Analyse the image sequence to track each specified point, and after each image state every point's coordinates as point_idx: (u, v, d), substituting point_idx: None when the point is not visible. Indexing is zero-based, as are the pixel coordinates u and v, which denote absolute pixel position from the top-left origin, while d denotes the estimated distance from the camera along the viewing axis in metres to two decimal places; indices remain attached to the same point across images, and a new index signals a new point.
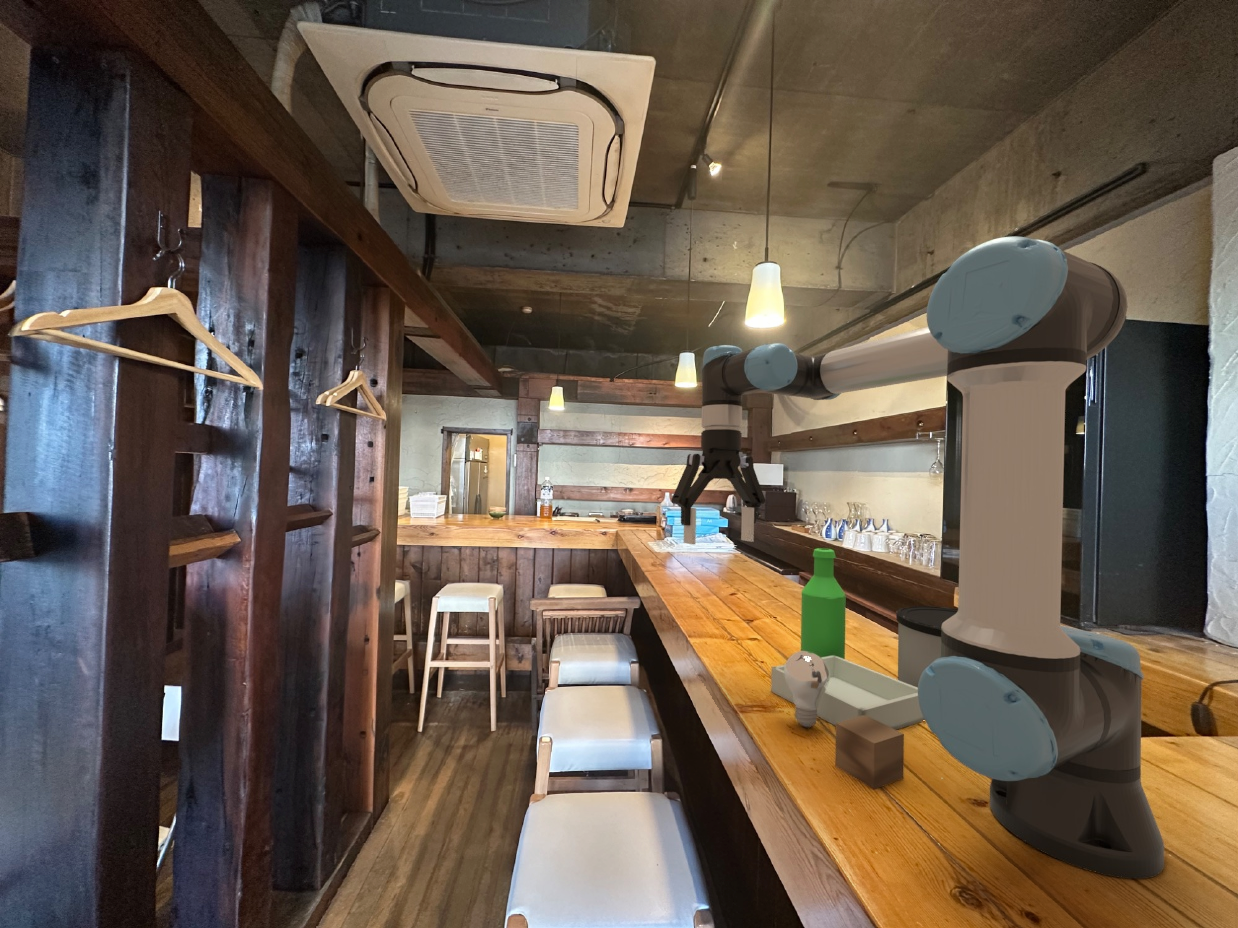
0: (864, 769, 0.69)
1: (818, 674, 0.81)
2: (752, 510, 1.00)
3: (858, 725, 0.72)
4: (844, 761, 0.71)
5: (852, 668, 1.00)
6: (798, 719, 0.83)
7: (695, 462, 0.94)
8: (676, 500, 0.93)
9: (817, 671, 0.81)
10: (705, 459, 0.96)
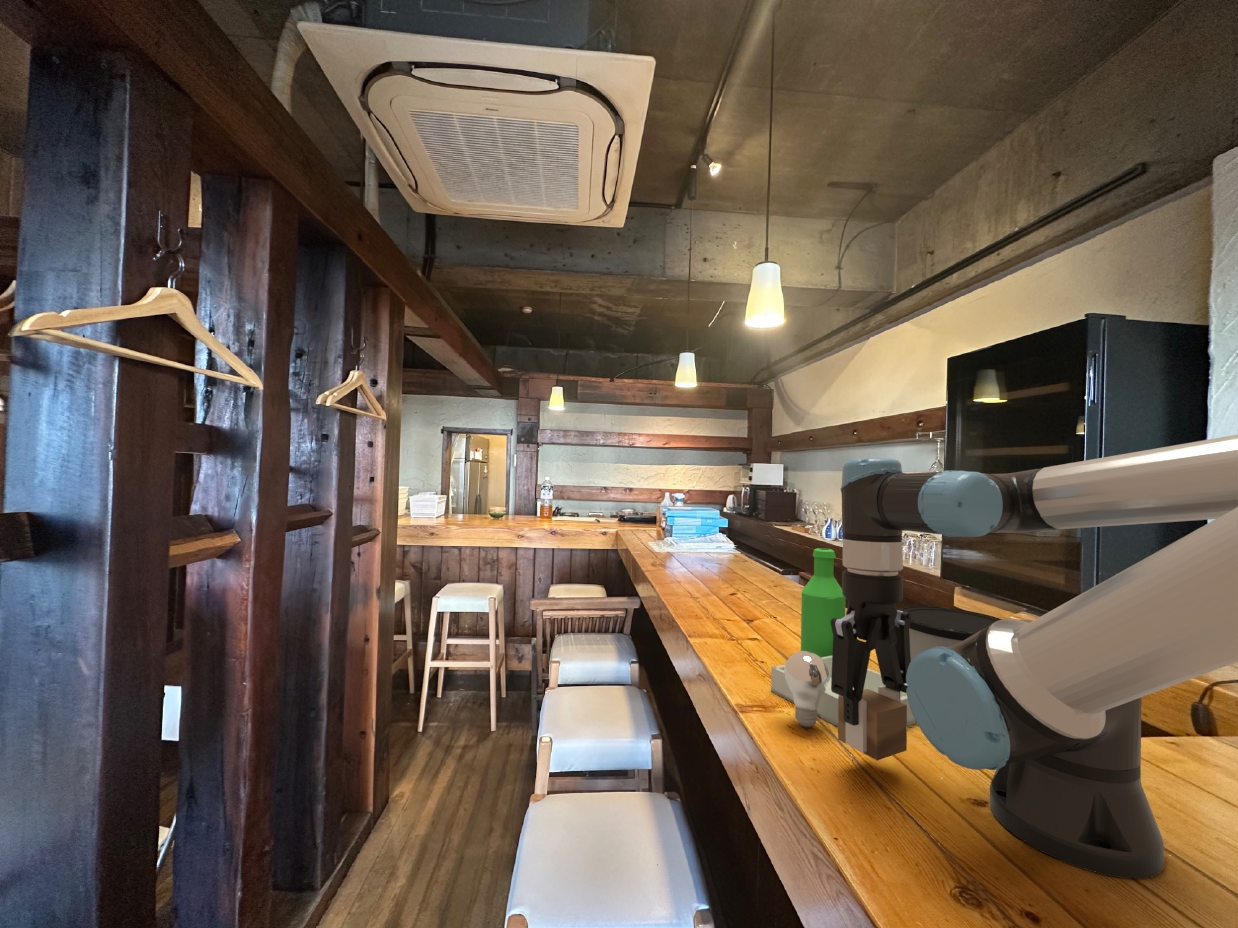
0: (867, 740, 0.68)
1: (818, 674, 0.81)
2: (897, 696, 0.71)
3: None
4: None
5: None
6: (798, 719, 0.83)
7: (848, 635, 0.68)
8: (841, 694, 0.68)
9: (817, 671, 0.81)
10: (856, 620, 0.69)
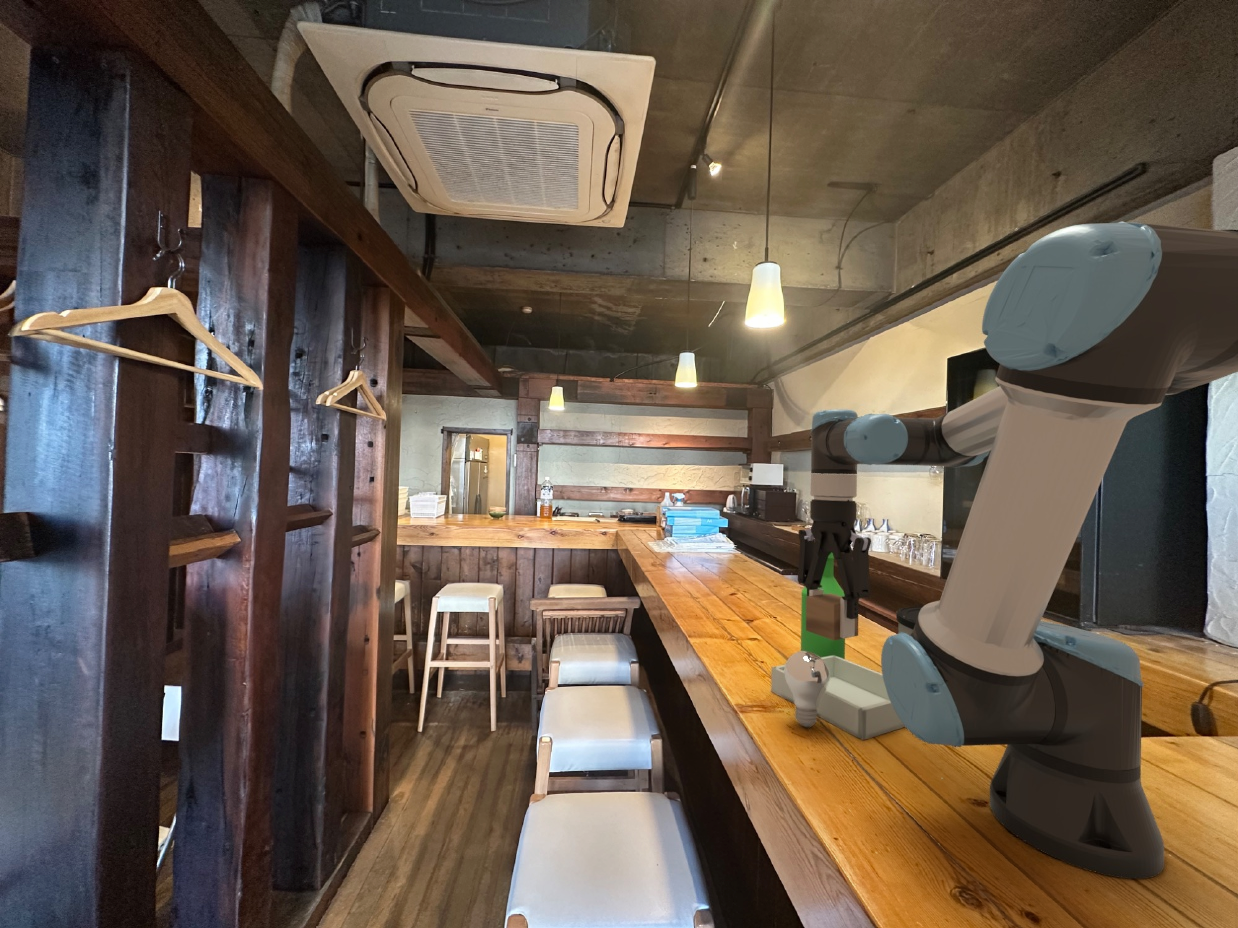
0: None
1: (818, 674, 0.81)
2: (842, 601, 0.87)
3: (833, 596, 0.92)
4: None
5: (852, 668, 1.00)
6: (798, 719, 0.83)
7: (800, 538, 0.96)
8: None
9: (817, 671, 0.81)
10: None
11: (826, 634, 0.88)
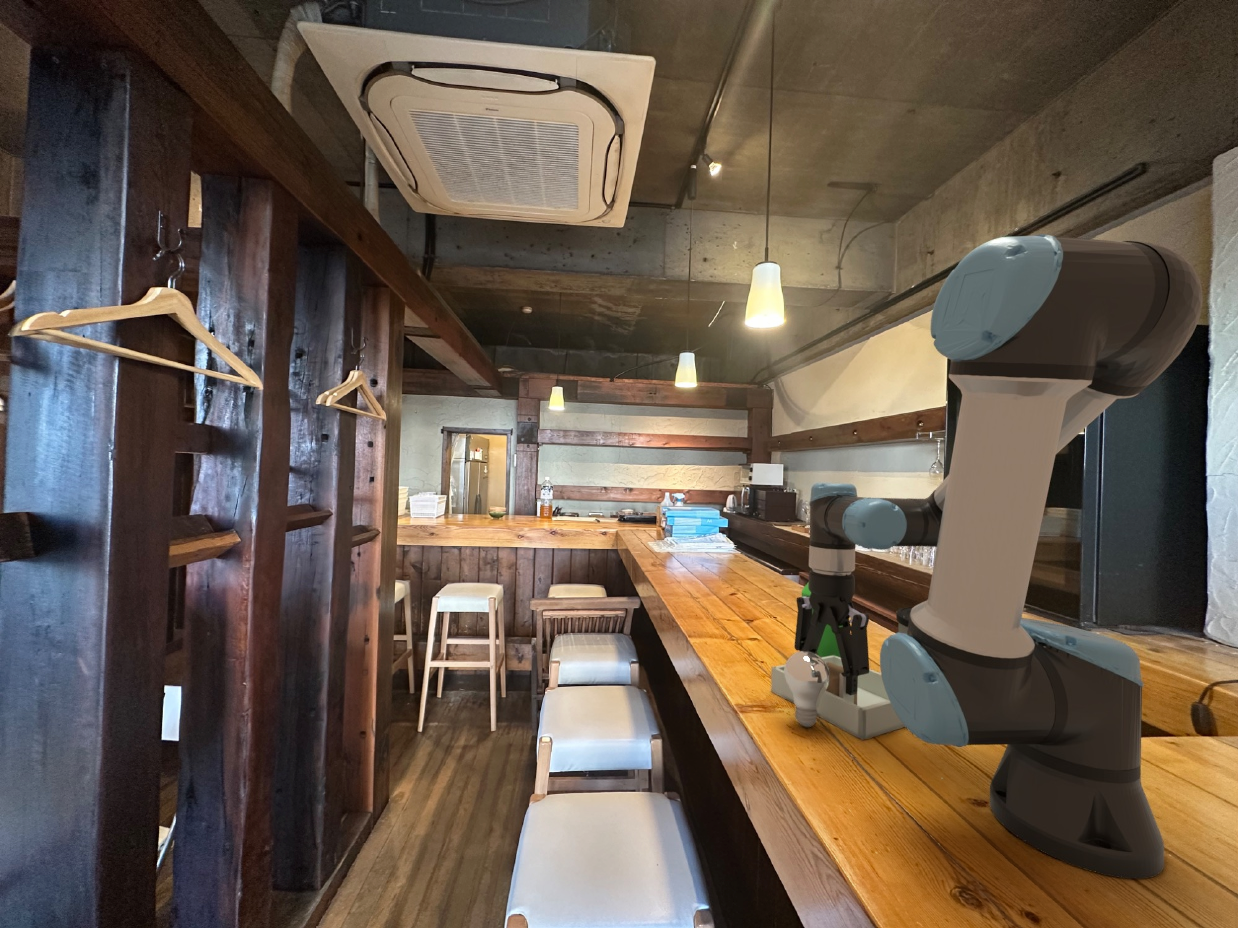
0: None
1: (818, 674, 0.81)
2: (841, 677, 0.87)
3: (832, 667, 0.92)
4: None
5: None
6: (798, 719, 0.83)
7: (798, 606, 0.96)
8: None
9: (817, 671, 0.81)
10: None
11: None
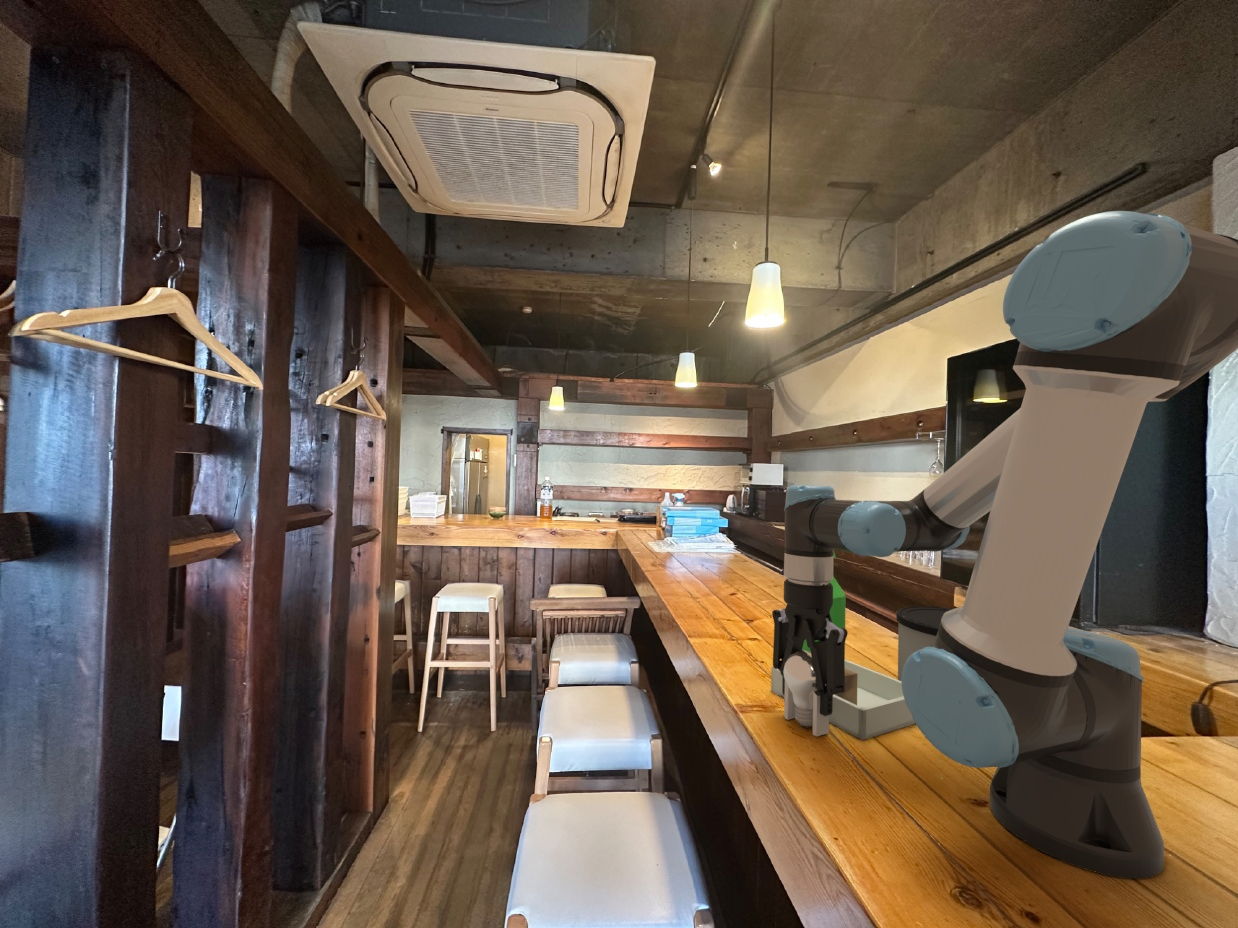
0: None
1: None
2: (815, 696, 0.81)
3: None
4: None
5: (852, 668, 1.00)
6: (798, 719, 0.83)
7: (774, 620, 0.89)
8: None
9: None
10: None
11: None
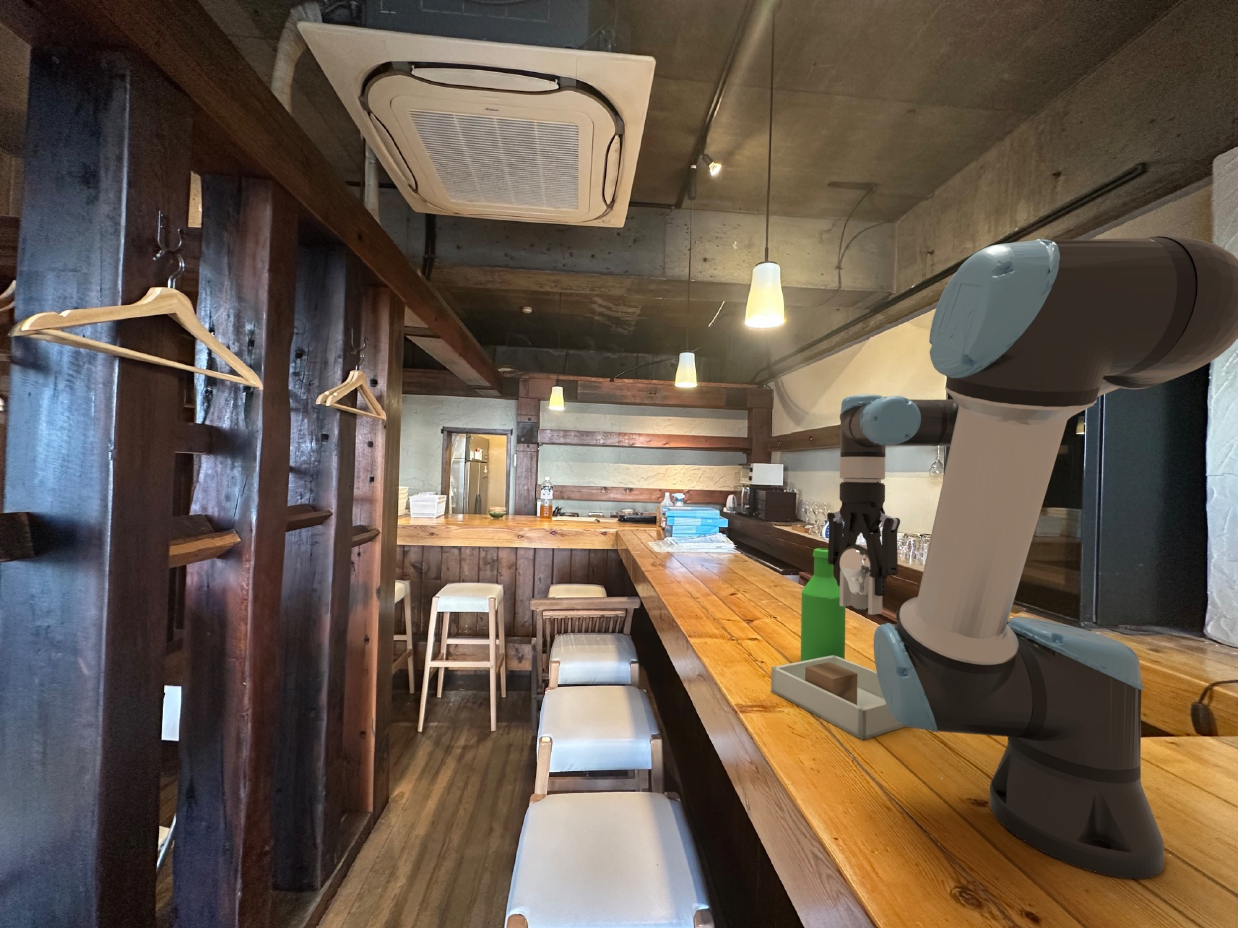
0: None
1: None
2: (870, 579, 0.91)
3: (832, 667, 0.92)
4: None
5: (852, 668, 1.00)
6: (853, 603, 0.94)
7: (829, 521, 0.99)
8: None
9: None
10: (840, 513, 0.98)
11: None
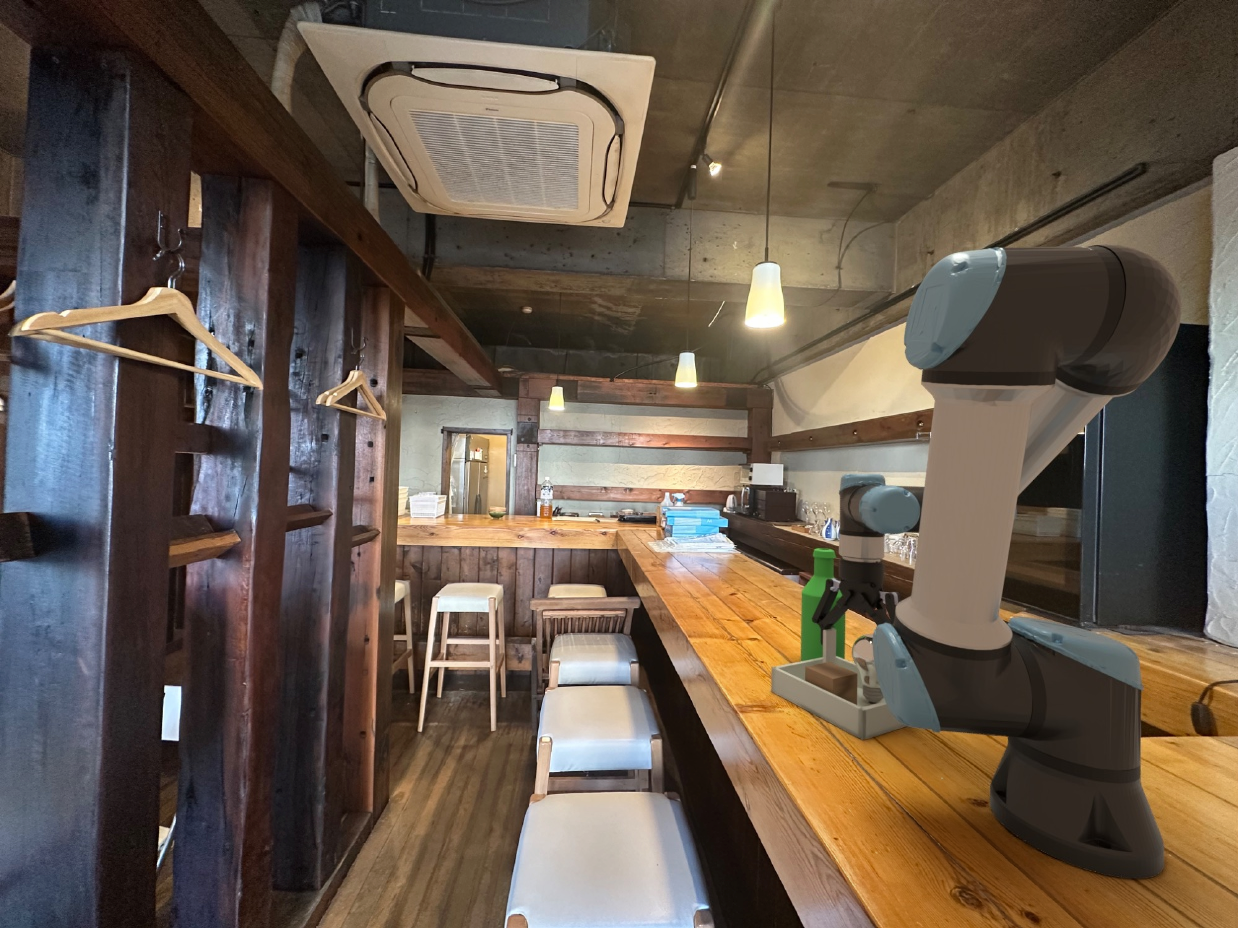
0: None
1: None
2: None
3: (832, 667, 0.92)
4: None
5: (852, 668, 1.00)
6: (866, 696, 0.91)
7: (826, 587, 1.00)
8: None
9: None
10: (839, 586, 0.98)
11: None
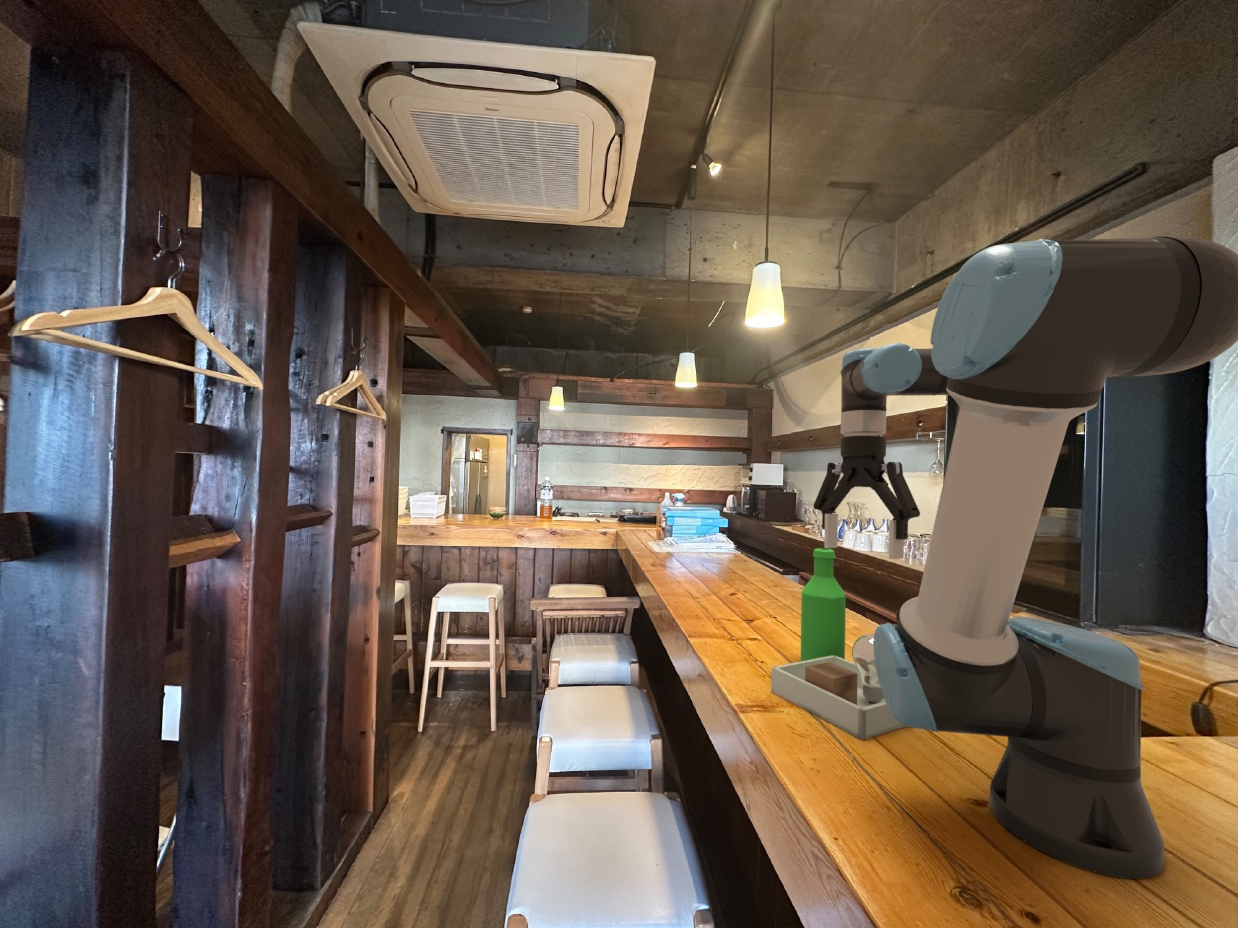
0: None
1: None
2: (891, 523, 0.88)
3: (832, 667, 0.92)
4: None
5: (852, 668, 1.00)
6: (866, 696, 0.91)
7: (828, 470, 1.00)
8: None
9: None
10: (840, 467, 0.98)
11: None
